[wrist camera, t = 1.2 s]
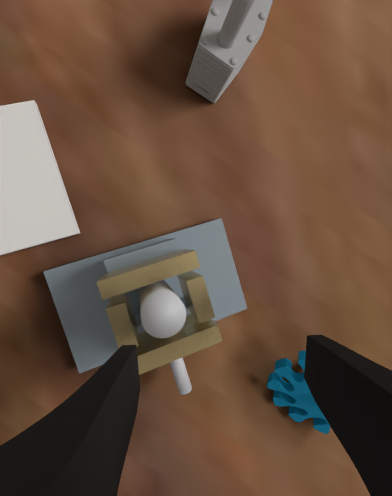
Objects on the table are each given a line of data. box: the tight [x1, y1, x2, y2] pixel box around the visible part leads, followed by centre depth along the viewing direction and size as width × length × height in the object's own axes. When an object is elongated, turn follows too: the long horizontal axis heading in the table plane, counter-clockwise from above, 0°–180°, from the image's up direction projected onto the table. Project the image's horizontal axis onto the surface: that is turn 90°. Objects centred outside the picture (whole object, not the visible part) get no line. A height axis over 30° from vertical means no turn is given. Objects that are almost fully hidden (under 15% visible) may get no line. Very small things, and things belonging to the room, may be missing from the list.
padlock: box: [185, 0, 273, 103], centre depth 18 cm, size 7×4×10 cm, turn 153°
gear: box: [267, 351, 330, 434], centre depth 24 cm, size 11×6×10 cm
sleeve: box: [97, 249, 222, 375], centre depth 16 cm, size 6×6×4 cm
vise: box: [43, 218, 247, 395], centre depth 18 cm, size 14×12×8 cm
